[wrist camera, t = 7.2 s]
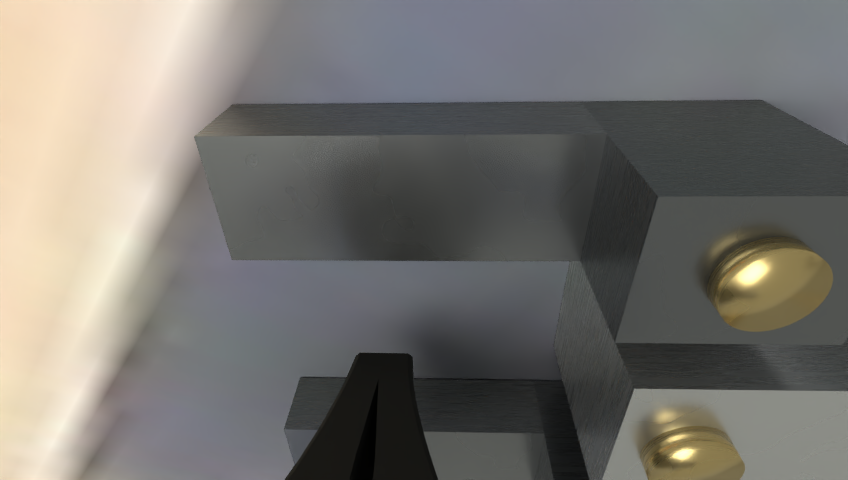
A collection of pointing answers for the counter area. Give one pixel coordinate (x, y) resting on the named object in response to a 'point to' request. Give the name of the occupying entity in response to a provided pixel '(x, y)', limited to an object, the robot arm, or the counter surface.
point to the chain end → (549, 232)
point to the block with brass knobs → (699, 403)
